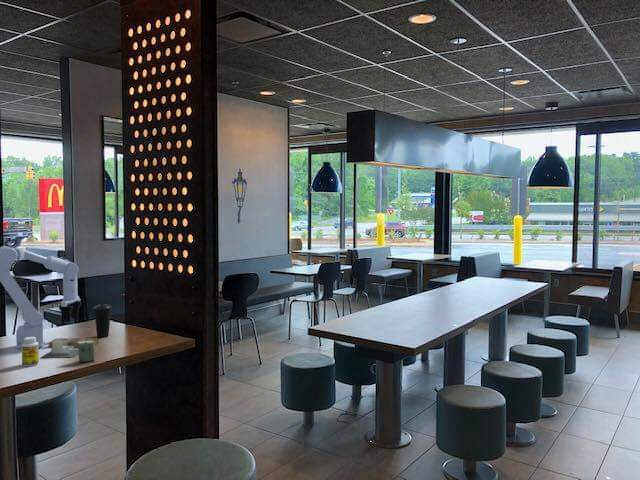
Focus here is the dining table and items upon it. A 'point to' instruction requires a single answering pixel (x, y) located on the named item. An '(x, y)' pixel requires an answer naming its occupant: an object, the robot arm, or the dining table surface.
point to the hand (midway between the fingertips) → (70, 319)
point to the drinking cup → (102, 319)
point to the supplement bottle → (30, 352)
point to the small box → (86, 351)
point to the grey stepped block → (61, 348)
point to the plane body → (75, 341)
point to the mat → (61, 355)
